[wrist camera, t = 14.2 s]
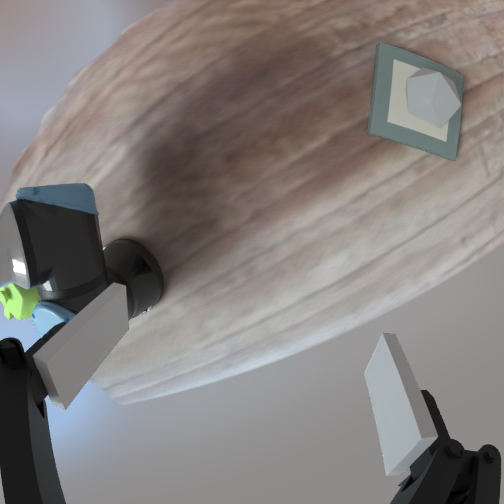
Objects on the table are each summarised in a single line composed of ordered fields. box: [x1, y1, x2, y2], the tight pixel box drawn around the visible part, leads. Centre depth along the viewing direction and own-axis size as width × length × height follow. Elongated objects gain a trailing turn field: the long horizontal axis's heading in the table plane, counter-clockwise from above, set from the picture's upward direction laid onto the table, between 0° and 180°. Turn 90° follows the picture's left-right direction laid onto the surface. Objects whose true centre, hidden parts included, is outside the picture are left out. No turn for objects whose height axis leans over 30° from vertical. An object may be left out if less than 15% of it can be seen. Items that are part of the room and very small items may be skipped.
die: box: [406, 68, 461, 129], centre depth 32 cm, size 8×9×10 cm
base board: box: [367, 42, 463, 161], centre depth 36 cm, size 16×16×2 cm
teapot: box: [0, 283, 40, 320], centre depth 53 cm, size 18×20×13 cm
